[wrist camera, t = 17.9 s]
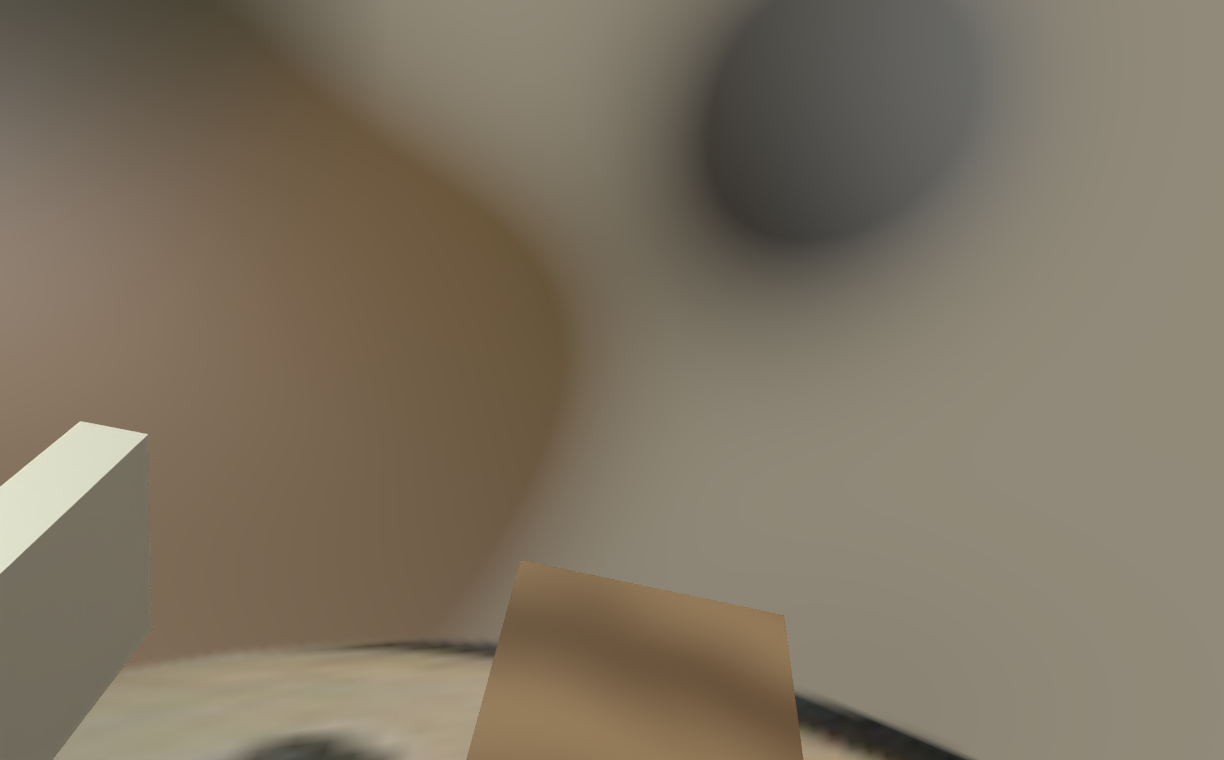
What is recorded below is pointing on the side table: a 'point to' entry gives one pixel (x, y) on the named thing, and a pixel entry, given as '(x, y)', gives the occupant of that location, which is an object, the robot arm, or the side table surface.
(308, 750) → the side table surface
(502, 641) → the wooden brick
